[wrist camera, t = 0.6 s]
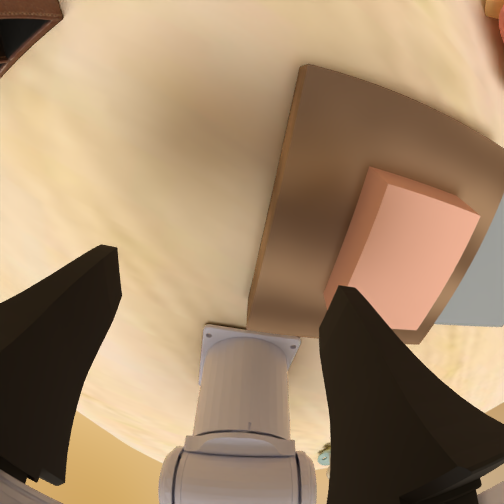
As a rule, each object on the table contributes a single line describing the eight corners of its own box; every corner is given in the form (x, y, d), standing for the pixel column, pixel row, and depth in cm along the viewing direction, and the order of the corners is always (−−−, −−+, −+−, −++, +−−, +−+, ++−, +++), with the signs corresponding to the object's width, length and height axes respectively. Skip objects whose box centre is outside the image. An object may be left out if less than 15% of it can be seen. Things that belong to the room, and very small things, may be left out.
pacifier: (361, 437, 38) (326, 441, 38) (367, 470, 33) (330, 476, 33) (346, 451, 42) (314, 454, 42) (350, 481, 37) (317, 485, 37)
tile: (403, 303, 18) (416, 330, 16) (323, 293, 18) (330, 323, 15) (456, 195, 14) (480, 215, 12) (369, 166, 13) (388, 183, 11)
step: (407, 318, 23) (419, 344, 20) (248, 299, 22) (246, 329, 19) (489, 143, 14) (516, 157, 12) (299, 67, 13) (308, 64, 11)
